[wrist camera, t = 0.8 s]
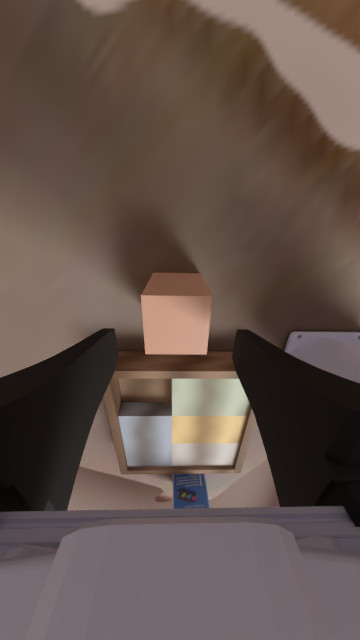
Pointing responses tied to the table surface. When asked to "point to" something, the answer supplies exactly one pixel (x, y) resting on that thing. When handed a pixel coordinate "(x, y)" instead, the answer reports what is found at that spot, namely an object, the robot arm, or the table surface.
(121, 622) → the robot arm
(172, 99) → the table surface
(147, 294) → the terracotta block
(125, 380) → the puzzle tray
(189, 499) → the ink cartridge box
